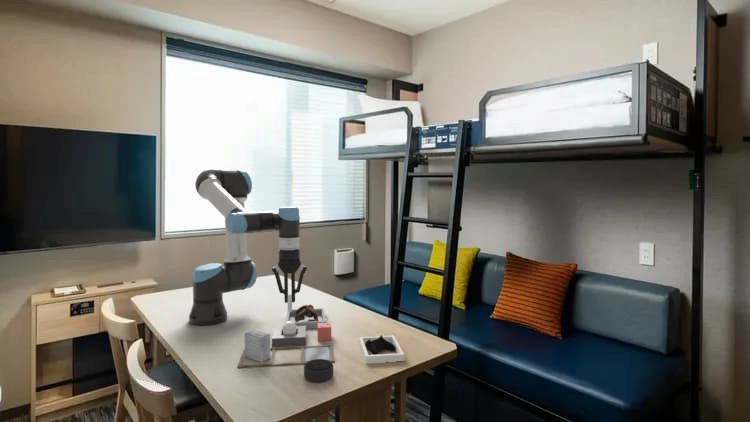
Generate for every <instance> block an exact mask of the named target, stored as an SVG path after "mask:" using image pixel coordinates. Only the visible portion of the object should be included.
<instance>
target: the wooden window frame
mask: <svg viewBox="0 0 750 422" xmlns="http://www.w3.org/2000/svg"><path fill="white" fill-rule="evenodd" d="M295 349H296V350H297V349H300V352H301V354H300V357H301V358H300V361H294V362H293V361H292V362H274V361H275V355H276V351H278V350H279V351H280V350H295ZM270 351H271V354H270V361H269V363H259V364H258V363H257V364H245V365H244V364H243V363H244V359H245V358H246V357H245V348H244V349H243V350H242V353H241V356H240V358H239V362H238V364H237V369H243V368H245V369H246V368H247V369H248V368H259V367H260V368H261V367H262V368H263V367H279V366H294V365H295V366H297V365H305V364H306V363H307V362H309V361H311V360H315V359H325V360H328V361H330V362H332V364H333V363H335V360H336V359H335V354H334V349H333V344H324V345H323V344H322V345H320V344H319V345H297V346H278V347H270Z"/></svg>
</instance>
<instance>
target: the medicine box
mask: <svg viewBox="0 0 750 422" xmlns="http://www.w3.org/2000/svg"><path fill="white" fill-rule="evenodd" d="M270 348H271V334H270V333H268V332H265V331H262V330H258V329H256V328H255V329H251V330H248V331H246V332H244V349H245V357H244V358H246V359H250V360H252V361H255V362H258V363H264V362H266V361H267V360H269V359H270V360H271V350H270Z"/></svg>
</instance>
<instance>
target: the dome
mask: <svg viewBox="0 0 750 422" xmlns="http://www.w3.org/2000/svg"><path fill="white" fill-rule="evenodd" d="M294 322H295V321H291V320H289V321H288V322H286V321H285V323H283V326H282V327H283V335H295V334H296V324H295V323H294Z"/></svg>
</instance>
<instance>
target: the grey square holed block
mask: <svg viewBox="0 0 750 422" xmlns="http://www.w3.org/2000/svg"><path fill="white" fill-rule="evenodd" d="M306 339H307V329H306V326H296V334H295V335H283V326H274V327H273V332H272V336H271V348H278V347H297V346H307V345H306V342H307V341H306Z"/></svg>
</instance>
